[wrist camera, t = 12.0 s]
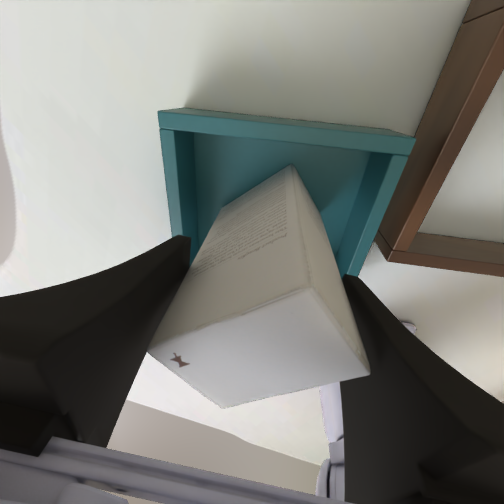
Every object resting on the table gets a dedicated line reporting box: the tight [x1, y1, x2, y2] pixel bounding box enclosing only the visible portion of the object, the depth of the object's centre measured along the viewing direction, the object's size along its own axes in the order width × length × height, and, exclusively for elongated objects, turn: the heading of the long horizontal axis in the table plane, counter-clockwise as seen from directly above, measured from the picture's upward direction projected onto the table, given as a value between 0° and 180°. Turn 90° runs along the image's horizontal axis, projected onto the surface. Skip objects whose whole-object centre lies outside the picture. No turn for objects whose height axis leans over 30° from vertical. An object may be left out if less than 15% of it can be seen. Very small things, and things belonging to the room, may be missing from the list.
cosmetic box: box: [147, 164, 371, 409], centre depth 12 cm, size 6×4×12 cm
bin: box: [158, 108, 416, 279], centre depth 16 cm, size 12×13×4 cm
